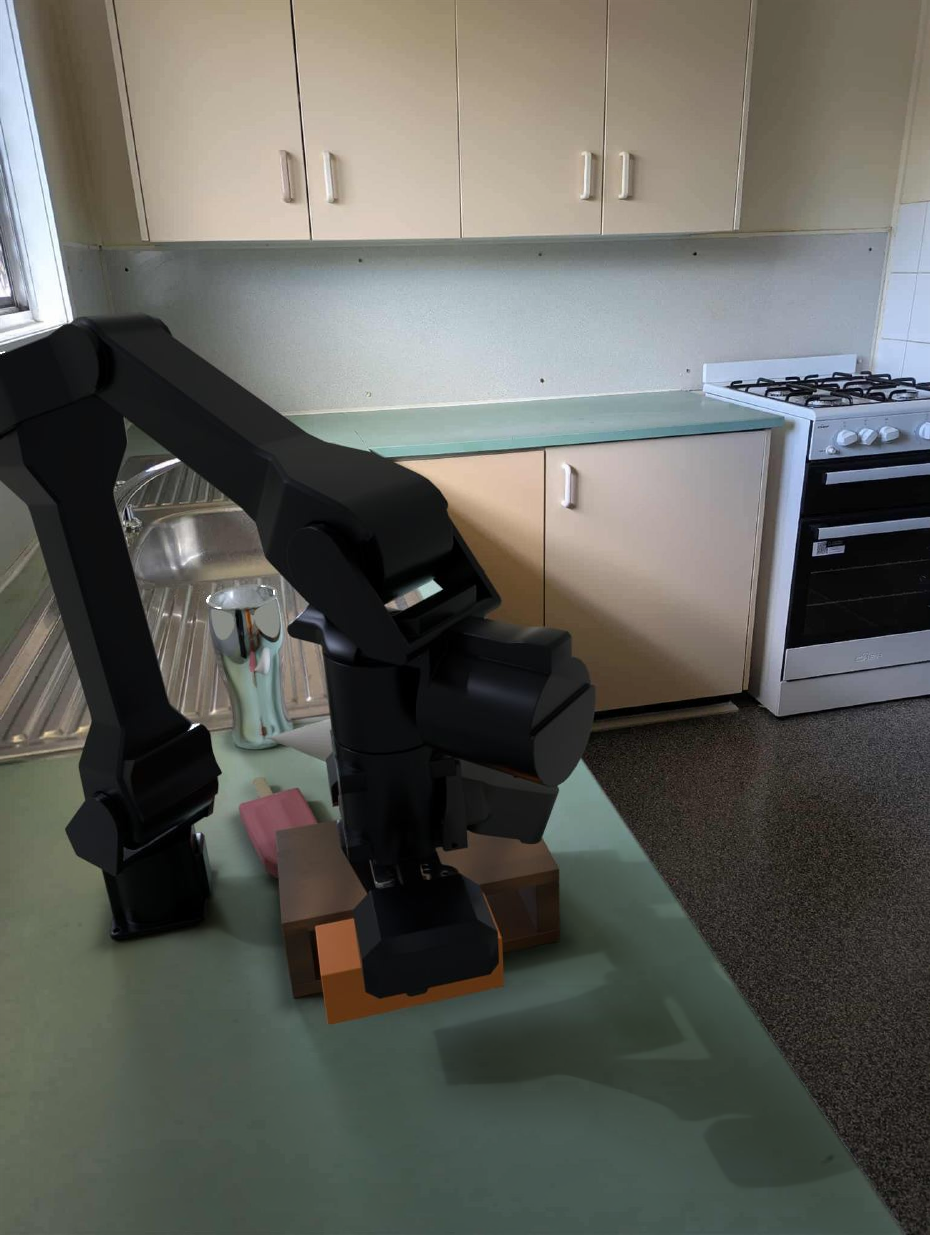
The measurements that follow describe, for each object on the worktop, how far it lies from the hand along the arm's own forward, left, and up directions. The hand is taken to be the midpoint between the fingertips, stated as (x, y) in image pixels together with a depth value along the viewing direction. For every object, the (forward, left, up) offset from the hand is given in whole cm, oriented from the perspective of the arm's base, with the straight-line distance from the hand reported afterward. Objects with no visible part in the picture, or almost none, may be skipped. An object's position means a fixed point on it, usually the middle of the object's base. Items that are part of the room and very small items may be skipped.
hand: (410, 965), depth 50 cm
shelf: (+2, +11, -6) cm, 12 cm away
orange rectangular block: (0, 0, -1) cm, 1 cm away
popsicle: (-7, +25, -6) cm, 26 cm away
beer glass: (-8, +42, -6) cm, 43 cm away
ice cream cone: (0, +32, -6) cm, 32 cm away
